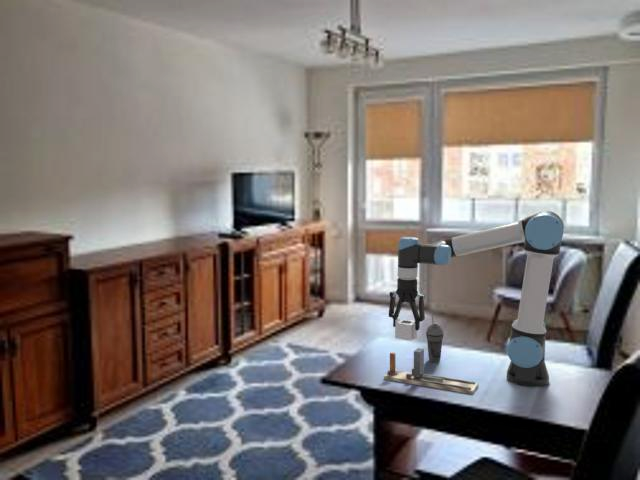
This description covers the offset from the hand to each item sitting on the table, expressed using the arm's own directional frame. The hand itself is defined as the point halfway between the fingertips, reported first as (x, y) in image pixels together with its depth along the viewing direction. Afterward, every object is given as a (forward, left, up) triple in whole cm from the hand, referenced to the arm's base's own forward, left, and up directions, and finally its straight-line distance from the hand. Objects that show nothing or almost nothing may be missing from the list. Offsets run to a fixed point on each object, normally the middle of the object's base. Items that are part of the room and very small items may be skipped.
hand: (405, 336), depth 222 cm
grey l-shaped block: (-10, +2, -14) cm, 18 cm away
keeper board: (-10, +2, -16) cm, 19 cm away
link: (0, 0, 0) cm, 0 cm away
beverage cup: (-4, -23, -16) cm, 28 cm away
